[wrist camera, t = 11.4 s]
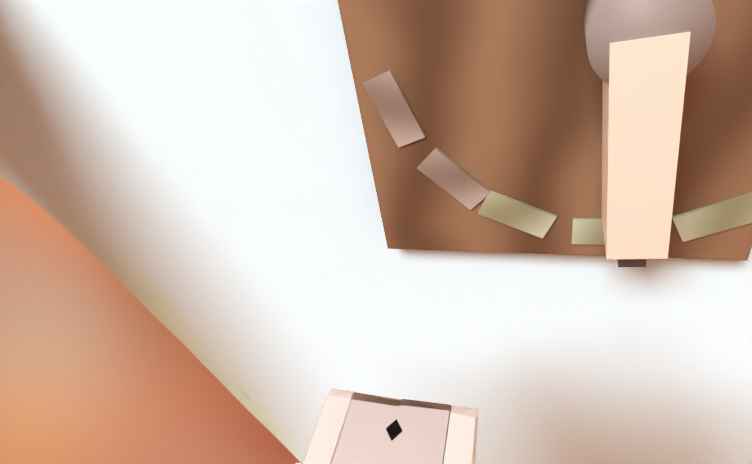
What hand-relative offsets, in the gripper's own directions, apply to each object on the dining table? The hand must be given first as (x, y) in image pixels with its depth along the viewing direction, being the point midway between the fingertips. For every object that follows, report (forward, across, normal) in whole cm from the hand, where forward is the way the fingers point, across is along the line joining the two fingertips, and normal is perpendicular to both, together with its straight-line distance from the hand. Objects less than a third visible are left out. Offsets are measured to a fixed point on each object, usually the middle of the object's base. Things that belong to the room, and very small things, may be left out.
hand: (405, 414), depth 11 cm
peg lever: (+18, -7, +2) cm, 19 cm away
